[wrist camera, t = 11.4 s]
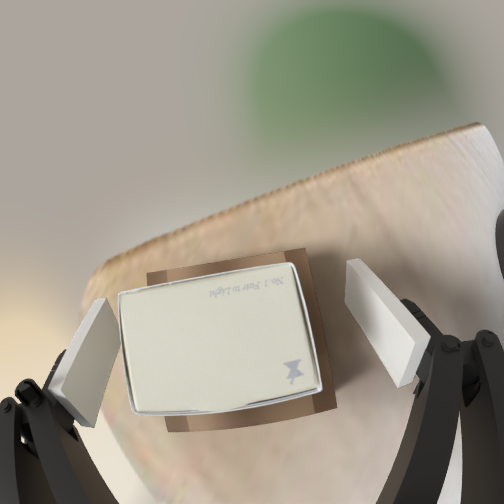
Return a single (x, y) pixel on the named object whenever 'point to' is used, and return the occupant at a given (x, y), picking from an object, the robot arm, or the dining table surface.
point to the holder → (327, 395)
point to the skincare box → (218, 342)
